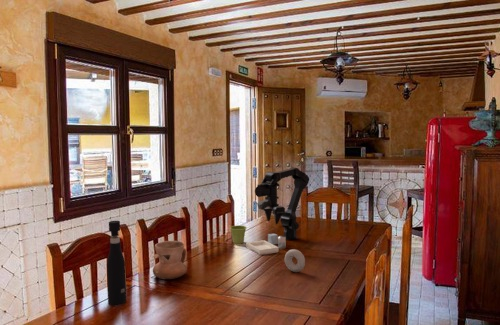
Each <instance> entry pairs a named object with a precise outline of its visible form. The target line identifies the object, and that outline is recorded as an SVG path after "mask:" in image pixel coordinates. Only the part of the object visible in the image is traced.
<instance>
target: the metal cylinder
mask: <svg viewBox="0 0 500 325" xmlns="http://www.w3.org/2000/svg"><path fill="white" fill-rule="evenodd" d="M286 240H287V239H286V237H285V236H284V235H279V236H278V244H277V247H279V250H284V249H286V248H287V246H286V243H287V241H286Z"/></svg>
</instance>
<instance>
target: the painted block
mask: <svg viewBox="0 0 500 325" xmlns="http://www.w3.org/2000/svg"><path fill="white" fill-rule="evenodd" d="M267 242H269V243H271V244H273V245H278V234H276V233H267Z"/></svg>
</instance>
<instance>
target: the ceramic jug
mask: <svg viewBox="0 0 500 325" xmlns="http://www.w3.org/2000/svg"><path fill="white" fill-rule="evenodd" d="M154 248H155V252H156V253H155V254H154V255H153V256H152V257H153V259H158V260H159V262H157V263H156V264H155V265H154V266H153V268H152V274H153V275H154V276H155V277H156V278H159V279H161V280H174V279H177V278H181V277H183V276H184V275H185V274H186V273H187V272H188V271H187V270H188V268H187V267H188V266H187V265H186V264H185V263H184V262H185V260H186V258H187V250H186V249H187V248H185V243H184V242H182V241H179V240H164V241H160V242H158V243H156V244H155V245H154Z"/></svg>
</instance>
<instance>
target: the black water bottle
mask: <svg viewBox="0 0 500 325" xmlns="http://www.w3.org/2000/svg"><path fill="white" fill-rule="evenodd" d="M108 231H109V232H110V234H111V235H110V238H109V240H110V241H109V252H108V255H107V261H106V278H107V279H106V284H107V302H108V305H109V306H114V307H115V306H121V305H125V303H126V302H127V283H126V282H127V277H126V261H125V256H124V254H123V251H122V246H121V244H122V243H121V240H120V237H119V232H120V231H121V221H120V220H111V221H109V222H108Z"/></svg>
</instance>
